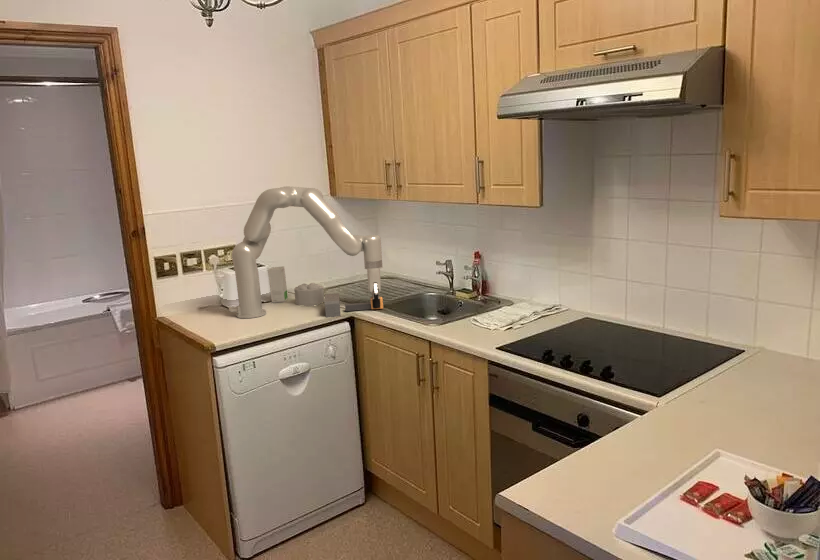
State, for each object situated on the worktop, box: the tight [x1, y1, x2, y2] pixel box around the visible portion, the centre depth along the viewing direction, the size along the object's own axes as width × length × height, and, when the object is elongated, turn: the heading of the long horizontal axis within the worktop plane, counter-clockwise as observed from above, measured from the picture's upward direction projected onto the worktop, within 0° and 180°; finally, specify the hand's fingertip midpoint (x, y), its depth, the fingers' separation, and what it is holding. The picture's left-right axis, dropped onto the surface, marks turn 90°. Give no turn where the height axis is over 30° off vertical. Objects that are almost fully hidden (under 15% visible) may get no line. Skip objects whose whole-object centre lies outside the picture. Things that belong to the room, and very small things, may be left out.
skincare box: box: [267, 266, 289, 304], centre depth 302 cm, size 8×7×16 cm
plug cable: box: [344, 296, 384, 312], centre depth 276 cm, size 16×4×4 cm, turn 97°
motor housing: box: [324, 293, 342, 318], centre depth 274 cm, size 6×14×7 cm, turn 7°
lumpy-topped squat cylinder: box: [294, 282, 325, 307], centre depth 294 cm, size 10×13×9 cm
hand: (376, 306), depth 277 cm, fingers closed on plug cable, 4 cm apart
